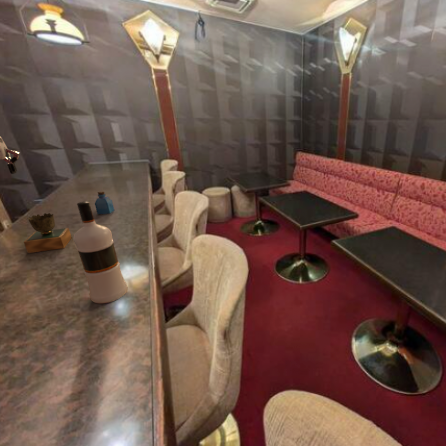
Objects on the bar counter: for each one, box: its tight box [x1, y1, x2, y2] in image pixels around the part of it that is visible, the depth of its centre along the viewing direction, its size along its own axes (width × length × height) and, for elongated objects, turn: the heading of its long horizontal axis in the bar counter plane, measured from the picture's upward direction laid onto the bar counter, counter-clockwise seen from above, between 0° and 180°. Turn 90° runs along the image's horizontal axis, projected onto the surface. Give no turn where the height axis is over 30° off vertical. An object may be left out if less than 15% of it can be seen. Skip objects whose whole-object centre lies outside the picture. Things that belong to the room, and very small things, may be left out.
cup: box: [27, 212, 56, 235], centre depth 101 cm, size 8×7×8 cm
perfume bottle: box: [94, 191, 115, 215], centre depth 143 cm, size 6×6×12 cm
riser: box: [23, 227, 73, 254], centre depth 104 cm, size 11×11×5 cm
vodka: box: [72, 201, 129, 304], centre depth 71 cm, size 9×9×30 cm
